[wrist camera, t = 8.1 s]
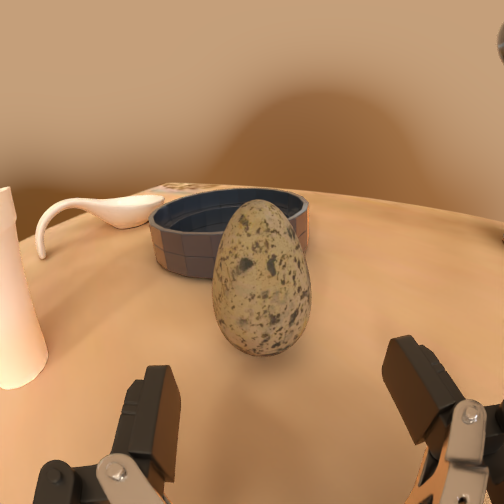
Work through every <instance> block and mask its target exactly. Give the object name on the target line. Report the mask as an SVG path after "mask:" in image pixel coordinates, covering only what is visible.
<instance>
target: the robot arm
mask: <svg viewBox="0 0 504 504" xmlns="http://www.w3.org/2000/svg"><path fill="white" fill-rule="evenodd" d="M497 50H498V54H499V57H500V59H501V61H502V63H503V65H504V22H503V23H502V25H501V27H500V29H499V32H498V36H497ZM503 242H504V235H503ZM382 377H383V380H384V383H385V385H386V386H387V388H388V390H389V392H390V394H391V396H392V398H393V400H394V402H395V404H396V406H397V408H398V410H399V412H400V414H401V416H402V419H403V421H404V423H405V425H406V427H407V429H408V431H409V433H410V435H411V437H412V439H413V442H414V444H415V445H417V444H420V443H422V442H426V444H427V447H426V449H425V452H424V456H423V459H422V463H421V466H420V469H419V472H418V476H417V479H416V482H415V485H414V487H413V490H412V492H411V494H410V495H409V497H408V498H407V500H406V501H405V503H404V504H483V501H484V497H485V492H486V489H487V492H488V494H489V497H490V500H491V502H492V504H504V400H503V401H502V403H501V404H497V405H491V406H484V407H483V406H482V405H481V404H480V403H479V402H477V401H475V400H470V399H467V400H466V399H465V398H464V396H463V395H462V393H461V392H460V390H459V389H458V387H457V386H456V384H455V383H454V382H453V380H452V379H451V377H450V376H449V374H448V373H447V371H445V369H444V367H443V366H442V364H441V363H439V360H438V359H437V357H436V356H435V354H434V353H433V352H432V351H431V350H429V349H428V348H426V347H425V346H423V345H418V344H417V342H416V341H415V340H414V338H413V337H412V336H411V335H405V336H401V337H397V338H393V339H391V340H390V342H389V345H388V348H387V352H386V355H385V359H384V362H383V365H382ZM180 411H181V397H180V392H179V389H178V387H177V384H176V381H175V379H174V376H173V373H172V370H171V368H170V366H169V365H152V366H148V367H147V369H146V373H145V377H144V380H135V381H134V382H133V384H132V385H131V386H130V387H129V389H128V390H127V393H126V397H125V400H124V405H123V408H122V411H121V412H122V414H121V415H120V419H119V423H118V427H117V431H116V435H115V439H114V443H113V447H112V451H111V453H110V454H109V455H107V456H105V457H104V458H103V459H101V461H100V462H99V463H98V464H96V465H91V466H83V467H73V468H71V467H70V466H69V465H68V464H67V463H65V462H64V461H61V460H52V461H49V462H47V463H46V464H45V465H44V466H43V467H42V468H41V470H40V473H39V478H38V482H37V486H36V491H35V495H34V500H33V504H172V502H171V501H170V500H169V499H168V497H167V496H166V495H165V493H164V482H174V477H175V464H176V452H177V441H178V430H179V420H180Z"/></svg>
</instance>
